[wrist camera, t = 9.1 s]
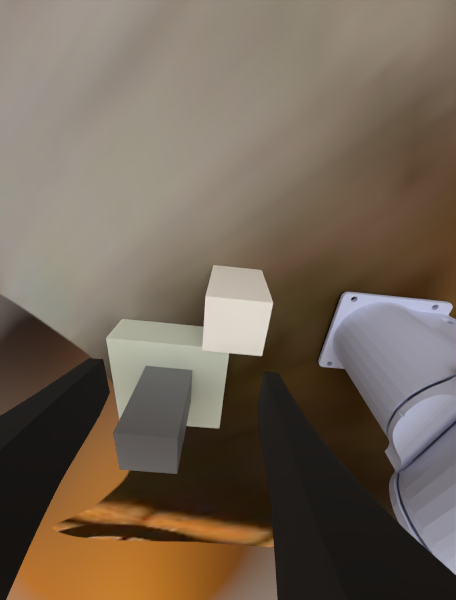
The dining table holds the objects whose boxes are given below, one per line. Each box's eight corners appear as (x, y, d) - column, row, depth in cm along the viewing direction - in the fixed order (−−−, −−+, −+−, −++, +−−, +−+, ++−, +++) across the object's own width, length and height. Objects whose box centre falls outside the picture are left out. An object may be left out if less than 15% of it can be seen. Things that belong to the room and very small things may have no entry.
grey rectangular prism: (192, 370, 20) (177, 438, 14) (190, 402, 22) (177, 473, 16) (145, 365, 20) (113, 432, 14) (148, 398, 21) (119, 469, 16)
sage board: (229, 329, 21) (229, 349, 19) (220, 403, 26) (219, 428, 23) (122, 318, 21) (106, 337, 18) (131, 395, 26) (119, 420, 23)
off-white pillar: (261, 270, 19) (273, 302, 14) (254, 312, 21) (262, 356, 15) (213, 265, 19) (205, 296, 13) (210, 307, 21) (202, 350, 15)
